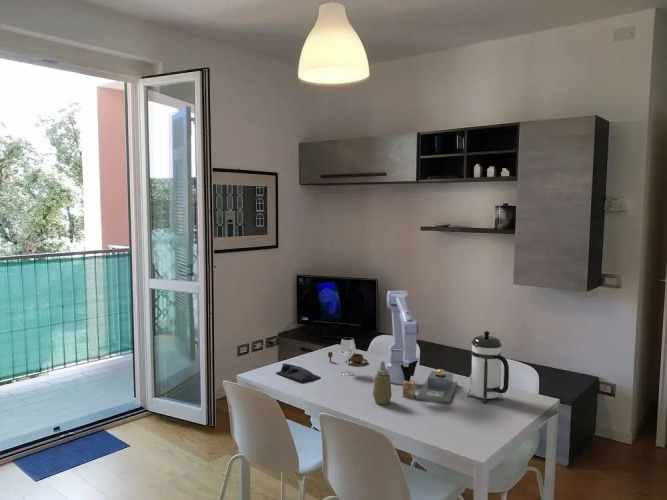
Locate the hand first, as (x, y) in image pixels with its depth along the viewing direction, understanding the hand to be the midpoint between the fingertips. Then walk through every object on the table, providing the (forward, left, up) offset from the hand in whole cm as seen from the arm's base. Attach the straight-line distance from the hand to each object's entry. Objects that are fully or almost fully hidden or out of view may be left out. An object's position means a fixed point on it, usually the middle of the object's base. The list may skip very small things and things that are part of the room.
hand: (409, 378), depth 222 cm
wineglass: (-36, +19, -8) cm, 42 cm away
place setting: (-42, +39, -9) cm, 58 cm away
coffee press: (+33, +10, -8) cm, 35 cm away
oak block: (0, 0, -8) cm, 8 cm away
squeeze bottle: (-9, -12, -8) cm, 17 cm away
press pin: (+11, +18, -4) cm, 21 cm away
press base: (+11, +10, -8) cm, 17 cm away
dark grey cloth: (-58, +7, -9) cm, 59 cm away
